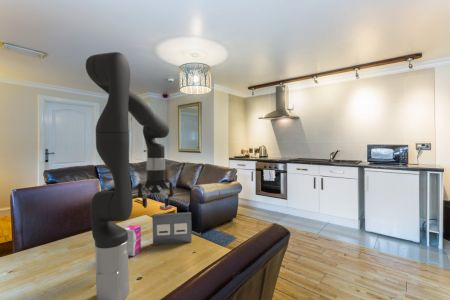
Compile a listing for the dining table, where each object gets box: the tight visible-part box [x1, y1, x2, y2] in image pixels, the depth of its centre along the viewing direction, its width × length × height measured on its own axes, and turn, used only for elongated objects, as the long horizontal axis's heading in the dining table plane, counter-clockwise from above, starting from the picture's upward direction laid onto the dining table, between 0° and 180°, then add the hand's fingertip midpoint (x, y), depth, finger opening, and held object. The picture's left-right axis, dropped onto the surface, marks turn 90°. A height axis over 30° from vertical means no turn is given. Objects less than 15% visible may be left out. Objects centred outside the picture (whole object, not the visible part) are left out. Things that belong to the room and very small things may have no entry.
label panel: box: [151, 211, 193, 246], centre depth 109 cm, size 2×18×14 cm, turn 98°
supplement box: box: [123, 224, 142, 258], centre depth 99 cm, size 6×6×12 cm
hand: (155, 207), depth 95 cm, fingers open, 8 cm apart
